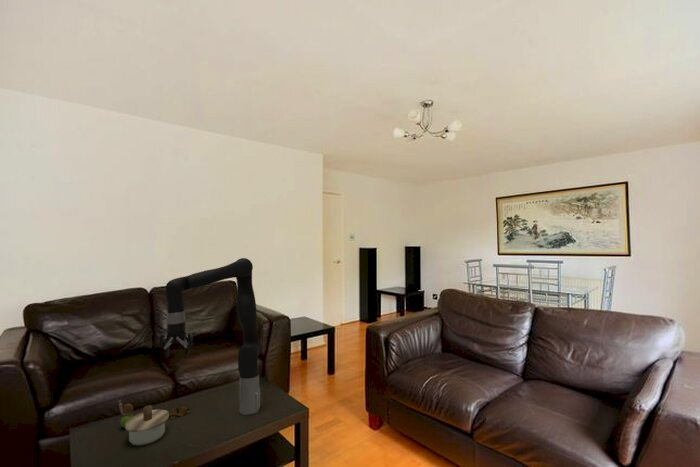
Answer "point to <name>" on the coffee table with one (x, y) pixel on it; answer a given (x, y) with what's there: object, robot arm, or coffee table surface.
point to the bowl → (146, 435)
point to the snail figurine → (125, 413)
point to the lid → (147, 419)
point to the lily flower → (180, 409)
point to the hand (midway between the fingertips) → (177, 356)
